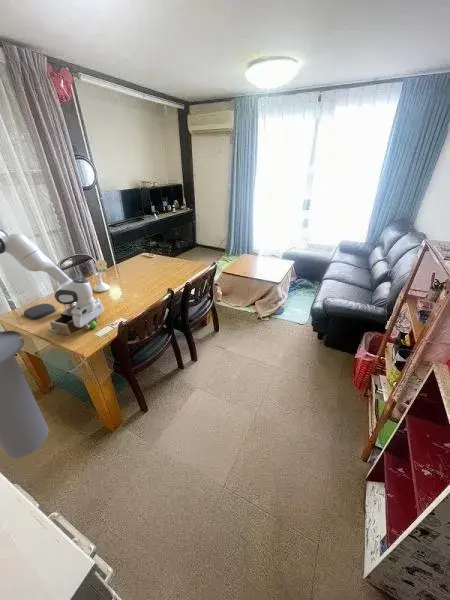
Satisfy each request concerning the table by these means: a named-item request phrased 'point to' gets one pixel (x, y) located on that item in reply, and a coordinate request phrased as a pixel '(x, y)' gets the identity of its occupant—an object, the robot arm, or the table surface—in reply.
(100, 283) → the flower in vase
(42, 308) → the media streaming box
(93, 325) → the lime
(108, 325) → the table surface
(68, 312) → the cabinet
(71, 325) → the drawer
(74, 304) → the water bottle
